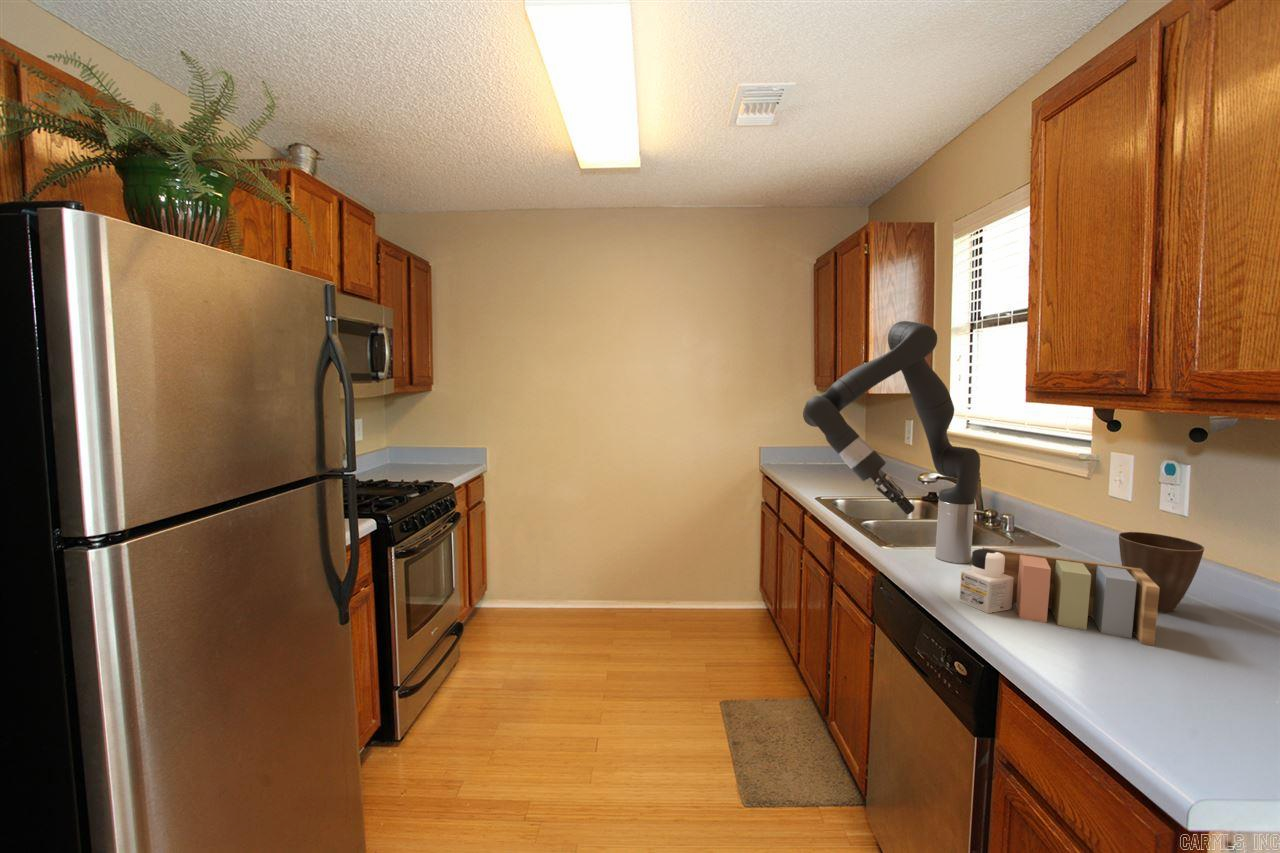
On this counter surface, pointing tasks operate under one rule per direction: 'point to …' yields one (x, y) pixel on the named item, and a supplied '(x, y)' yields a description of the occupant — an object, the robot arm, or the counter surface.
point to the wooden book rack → (1143, 600)
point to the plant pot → (1162, 563)
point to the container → (987, 582)
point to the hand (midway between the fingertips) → (911, 511)
